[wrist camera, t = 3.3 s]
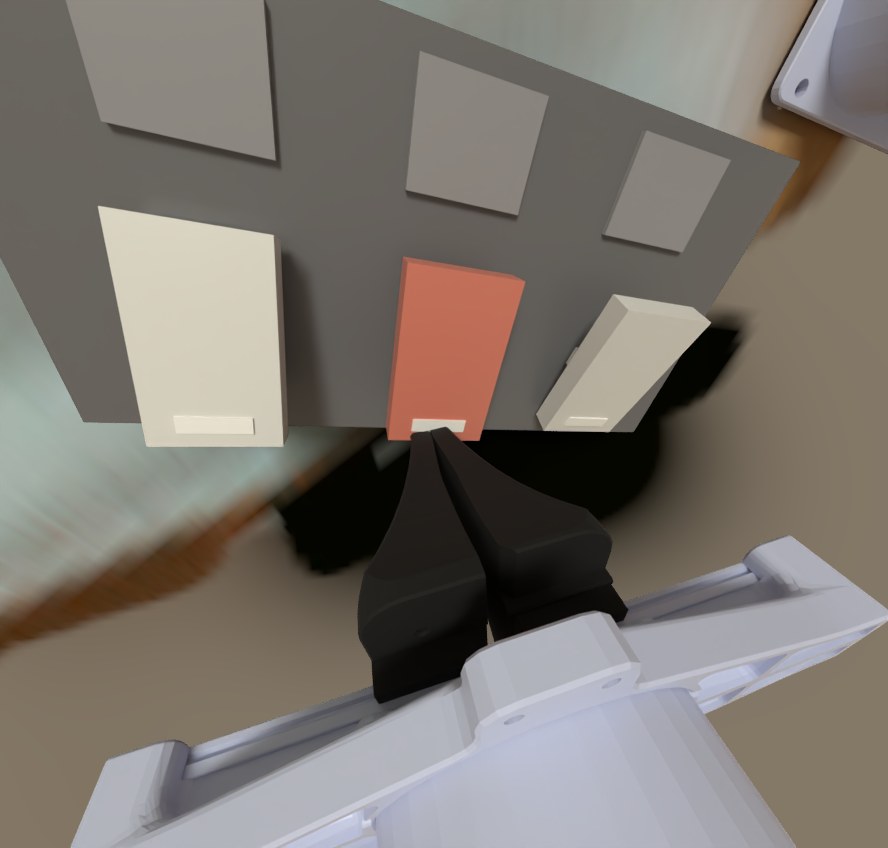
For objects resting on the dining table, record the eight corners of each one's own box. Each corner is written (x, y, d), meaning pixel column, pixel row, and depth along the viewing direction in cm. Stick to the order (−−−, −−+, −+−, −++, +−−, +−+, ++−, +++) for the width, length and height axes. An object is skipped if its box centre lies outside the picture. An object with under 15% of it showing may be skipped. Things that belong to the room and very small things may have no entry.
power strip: (726, 164, 14) (806, 161, 12) (601, 403, 21) (635, 434, 18) (-558, -278, 6) (-1307, -654, 3) (-74, 371, 12) (-184, 421, 10)
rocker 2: (682, 298, 13) (712, 323, 12) (594, 407, 17) (609, 433, 16) (604, 285, 12) (629, 311, 11) (531, 404, 16) (544, 431, 15)
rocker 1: (284, 242, 10) (273, 234, 8) (291, 427, 12) (282, 447, 11) (137, 219, 9) (95, 205, 7) (172, 426, 11) (145, 447, 10)
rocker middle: (505, 271, 11) (526, 281, 10) (467, 418, 15) (479, 441, 13) (400, 253, 10) (408, 262, 9) (384, 416, 13) (388, 440, 12)
